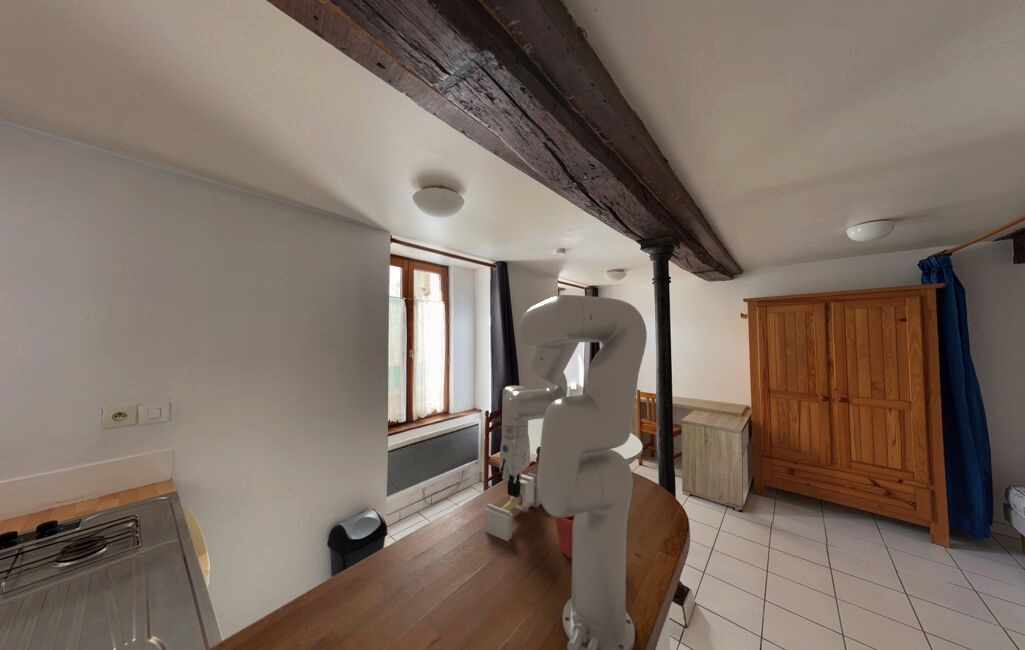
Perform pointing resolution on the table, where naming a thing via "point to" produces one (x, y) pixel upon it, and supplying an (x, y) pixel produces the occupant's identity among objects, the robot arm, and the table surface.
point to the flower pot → (565, 534)
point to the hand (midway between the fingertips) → (513, 494)
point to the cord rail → (506, 514)
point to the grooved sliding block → (526, 492)
